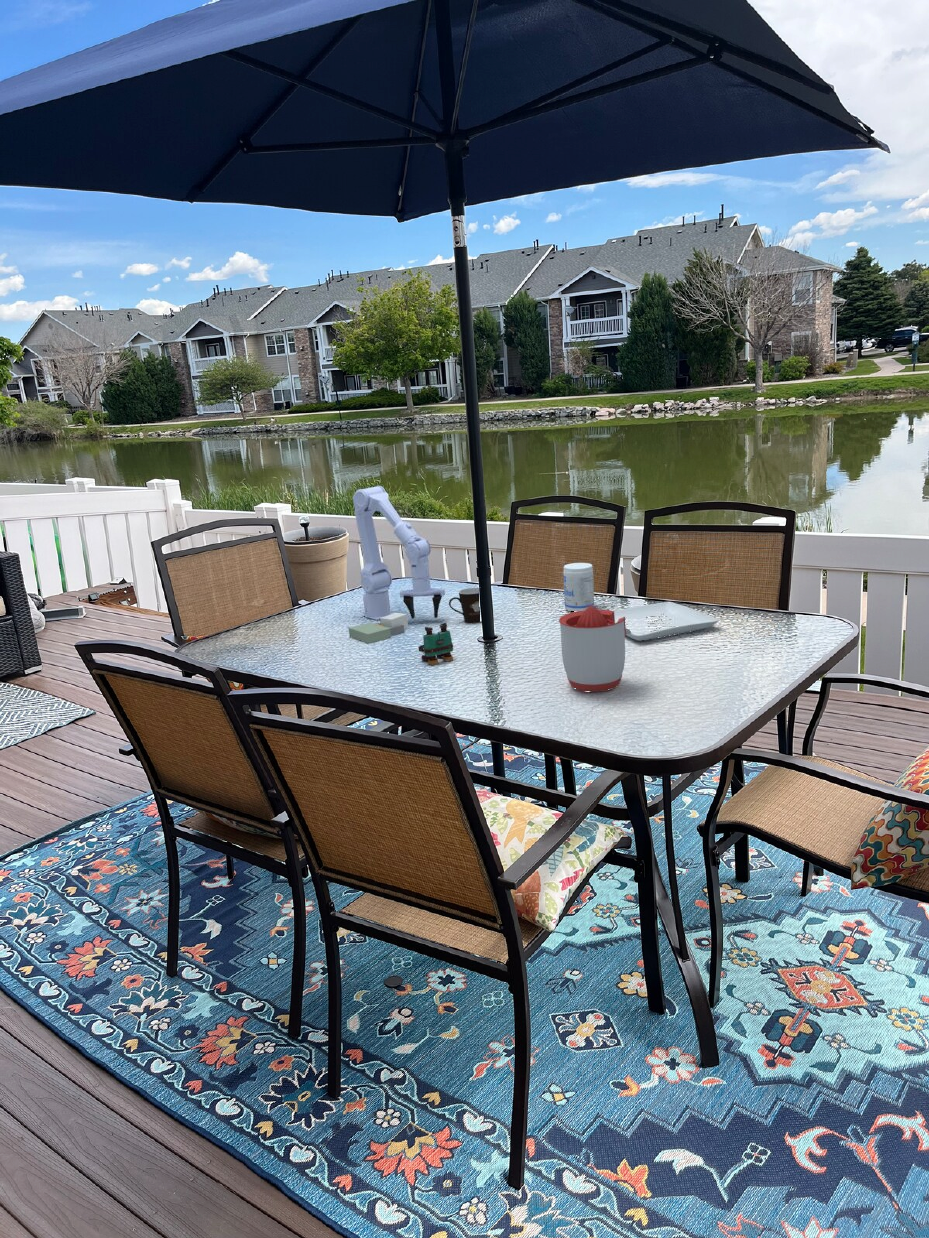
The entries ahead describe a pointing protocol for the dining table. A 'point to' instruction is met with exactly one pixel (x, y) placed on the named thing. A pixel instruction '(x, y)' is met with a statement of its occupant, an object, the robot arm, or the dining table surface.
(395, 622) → the tall pale grey block
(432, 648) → the binoculars
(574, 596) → the supplement tub
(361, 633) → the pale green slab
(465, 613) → the coffee mug
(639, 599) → the dining table surface
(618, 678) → the citrus juicer
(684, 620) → the square plate
